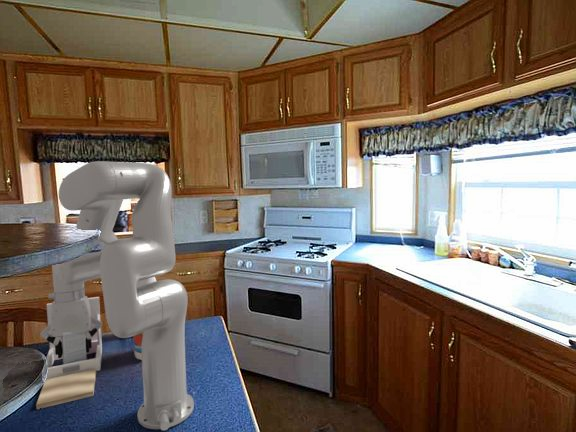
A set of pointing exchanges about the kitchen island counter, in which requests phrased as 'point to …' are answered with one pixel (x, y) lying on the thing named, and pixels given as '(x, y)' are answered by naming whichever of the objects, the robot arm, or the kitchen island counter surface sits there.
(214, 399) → the kitchen island counter surface
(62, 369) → the case
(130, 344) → the kitchen island counter surface
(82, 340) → the supplement box
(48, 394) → the pine board
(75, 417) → the kitchen island counter surface
